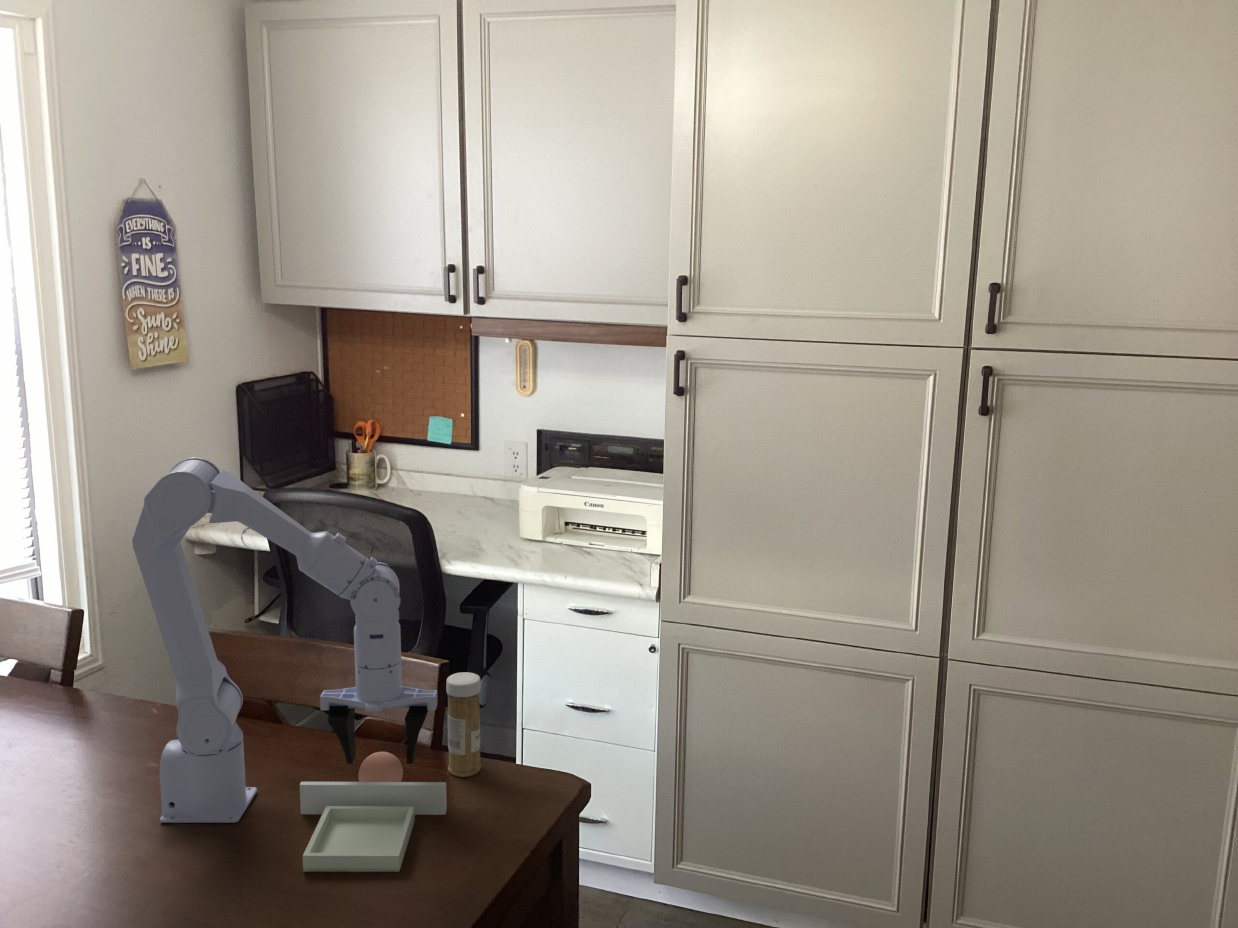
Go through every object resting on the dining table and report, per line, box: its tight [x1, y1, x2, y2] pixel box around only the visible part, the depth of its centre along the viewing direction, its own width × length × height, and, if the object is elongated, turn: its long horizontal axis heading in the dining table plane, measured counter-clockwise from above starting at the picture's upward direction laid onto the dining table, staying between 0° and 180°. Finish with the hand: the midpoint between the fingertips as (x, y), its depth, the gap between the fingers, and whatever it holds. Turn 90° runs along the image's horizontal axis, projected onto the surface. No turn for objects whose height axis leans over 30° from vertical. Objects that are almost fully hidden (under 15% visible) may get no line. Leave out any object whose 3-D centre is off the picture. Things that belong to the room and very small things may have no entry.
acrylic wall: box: [299, 781, 447, 816], centre depth 128 cm, size 18×1×4 cm, turn 92°
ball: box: [358, 751, 404, 782], centre depth 133 cm, size 6×6×6 cm
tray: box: [302, 806, 416, 873], centre depth 121 cm, size 11×11×2 cm
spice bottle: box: [445, 671, 482, 778], centre depth 139 cm, size 5×5×14 cm
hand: (381, 759), depth 132 cm, fingers open, 7 cm apart
